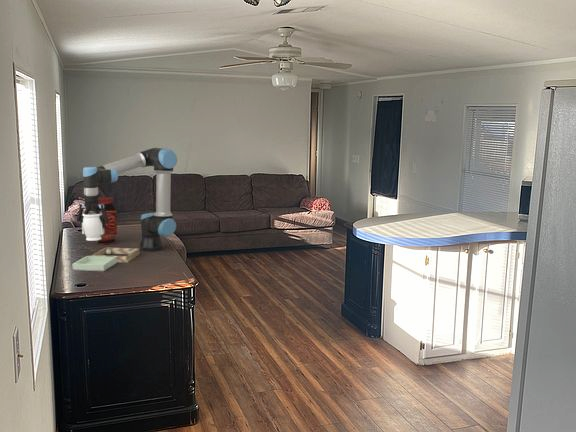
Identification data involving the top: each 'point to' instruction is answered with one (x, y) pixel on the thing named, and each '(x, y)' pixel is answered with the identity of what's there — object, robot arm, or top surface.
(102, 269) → the bin
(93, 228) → the jar
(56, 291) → the top surface
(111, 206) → the vase
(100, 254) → the bin
